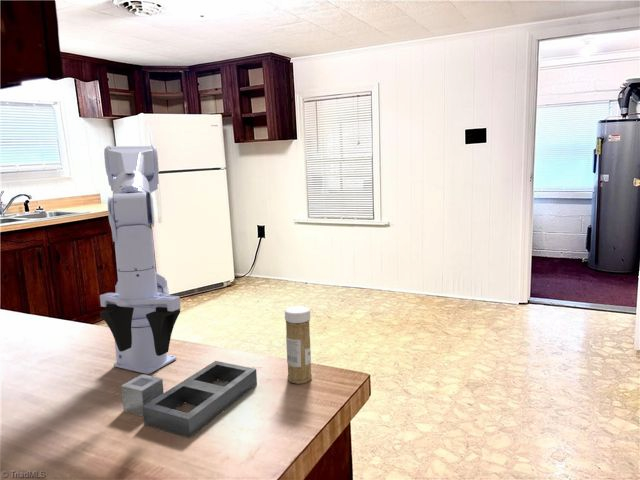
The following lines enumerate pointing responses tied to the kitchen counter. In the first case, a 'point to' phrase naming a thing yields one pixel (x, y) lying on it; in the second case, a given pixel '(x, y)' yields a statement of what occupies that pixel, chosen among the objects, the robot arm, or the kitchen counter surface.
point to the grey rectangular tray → (199, 398)
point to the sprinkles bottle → (298, 344)
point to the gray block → (140, 393)
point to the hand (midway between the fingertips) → (143, 351)
